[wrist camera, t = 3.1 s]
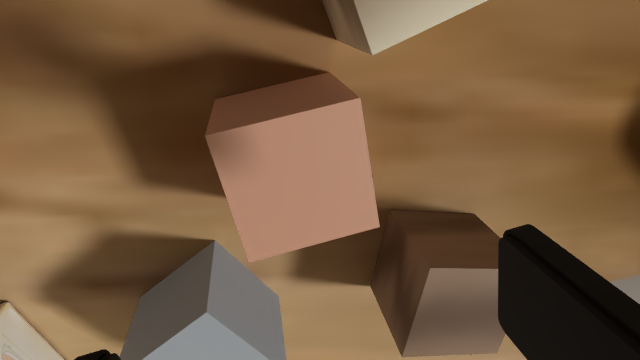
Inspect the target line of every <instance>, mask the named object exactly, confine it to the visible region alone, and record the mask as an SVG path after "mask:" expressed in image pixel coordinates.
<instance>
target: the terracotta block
mask: <svg viewBox="0 0 640 360" xmlns="http://www.w3.org/2000/svg"><path fill="white" fill-rule="evenodd" d="M205 138H206V141H207V144H208V147H209V149H210V152H211V155H212V158H213V161H214V164H215V167H216V169H217V172H218V175H219V178H220V181H221V184H222V187H223V189H224V192H225V195H226V198H227V201H228V204H229V206H230V209H231V212H232V215H233V218H234V221H235V224H236V226H237V229H238V232H239V235H240V238H241V241H242V244H243V246H244V249H245V252H246V255H247V258H248V261H249V263H250V262H253V261H257V260H261V259H264V258H268V257H272V256H275V255H279V254H283V253H286V252H290V251H294V250H297V249H301V248H305V247H308V246H312V245H316V244H319V243H323V242H327V241H330V240H334V239H338V238H341V237H345V236H349V235H352V234H356V233H360V232H363V231H367V230H371V229H374V228H378V227H380V226H379V219H378V212H377V206H376V199H375V192H374V186H373V179H372V172H371V166H370V159H369V152H368V146H367V139H366V133H365V126H364V119H363V113H362V106H361V99H360V97H359V96H358V95H356V94H355V93H354V92H353V91H351V90H350V89H349V88H348V87H347V86H345V85H344V84H343V83H342V82H341V81H339V80H338V79H337V78H336V77H335V76H333V75H332V74H331V73H330V72H327V73H323V74H319V75H315V76H311V77H306V78H302V79H298V80H294V81H290V82H285V83H281V84H277V85H273V86H269V87H264V88H260V89H256V90H252V91H248V92H243V93H239V94H235V95H231V96H227V97H222V98H218V99H215V101H214V104H213V108H212V112H211V115H210V119H209V122H208V126H207V130H206V133H205Z"/></svg>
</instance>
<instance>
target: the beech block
mask: <svg viewBox="0 0 640 360" xmlns="http://www.w3.org/2000/svg"><path fill="white" fill-rule="evenodd" d="M485 1H487V0H322V2H323V5H324V7H325V10H326V12H327V15H328V18H329V20H330V23H331V26H332V28H333V31H334V33H335V36H336V39H337V40H338V41H340V42H343V43H345V44H347V45H350V46H352V47H354V48H357V49H359V50H361V51H364V52H366V53H368V54H371V55H374V54H376V53H378V52H380V51H382V50H385V49H387V48H389V47H391V46H393V45H395V44H397V43H399V42H401V41H403V40H406V39H408V38H410V37H412V36H414V35H416V34H418V33H420V32H422V31H424V30H427V29H429V28H431V27H433V26H435V25H437V24H439V23H441V22H443V21H445V20H448V19H450V18H452V17H454V16H456V15H458V14H460V13H462V12H464V11H466V10H468V9H471V8H473V7H475V6H477V5H479V4H481V3H483V2H485Z"/></svg>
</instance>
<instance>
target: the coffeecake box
mask: <svg viewBox="0 0 640 360" xmlns="http://www.w3.org/2000/svg"><path fill="white" fill-rule="evenodd" d="M0 360H64V358H63V357H62V356H61V355H60V354H59V353H58V352H57V351H56V350H55V349H54V348H53V347H52V346H51V345H50V344H49V343H48V342H47V341H46V340H45V339H44V338H43V337H42V336H41V335H40V334H39V333H38V332H37V331H36V330H35V329H34V328H33V327H32V326H31V325H30V324H29V323H28V322H27V321H26V320H25V319H24V318H23V317H22V316H21V315H20V313H19V312H17V311H16V310H15V309H14V307H13V306H12V305H11V304H10V303H9V302H5V303H2V304H0Z"/></svg>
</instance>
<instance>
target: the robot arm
mask: <svg viewBox="0 0 640 360" xmlns="http://www.w3.org/2000/svg"><path fill="white" fill-rule="evenodd" d="M498 320H499V323H500V325H501V327H502V329H503V331H504V332H505V333H506V334H507V336H508V337H509V338H510V339H511V340H512V342H513V343H514V344H515V345H516V347H517V348H518V349H519V350H520V351H521V353H522V354H523V355H524V356H525V357H526V359H527V360H640V304H638V303H637V302H635V301H634V300H633V299H632V298H630V297H629V296H627V295H626V294H625V293H623V292H622V291H621V290H619V289H618V288H616V287H615V286H614V285H612V284H611V283H610V282H608V281H607V280H606V279H604V278H603V277H602V276H600V275H599V274H598V273H596V272H595V271H594V270H592V269H591V268H590V267H588V266H587V265H585V264H584V263H583V262H581V261H580V260H579V259H577V258H576V257H575V256H573V255H572V254H571V253H569V252H568V251H566V250H565V249H564V248H562V247H561V246H560V245H558V244H557V243H556V242H554V241H553V240H552V239H550V238H549V237H548V236H546V235H545V234H543V233H542V232H541V231H539V230H538V229H537V228H535V227H534V226H532V225H529V224H526V225H523V226H519V227H516V228H513V229H509V230H507V231H505V232H504V234H503V238H501V239H500V240H499V243H498ZM74 360H121V359H120V357H119V356H118V355H117V354H115V353H113V354H110V352H109V351H107V350H105V349H104V350H100V351H96V352H93V353H89V354H86V355H83V356H79V357H77V358H76V359H74Z"/></svg>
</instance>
